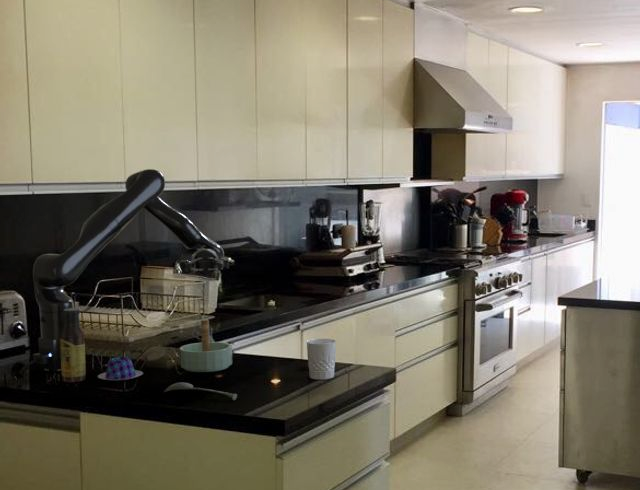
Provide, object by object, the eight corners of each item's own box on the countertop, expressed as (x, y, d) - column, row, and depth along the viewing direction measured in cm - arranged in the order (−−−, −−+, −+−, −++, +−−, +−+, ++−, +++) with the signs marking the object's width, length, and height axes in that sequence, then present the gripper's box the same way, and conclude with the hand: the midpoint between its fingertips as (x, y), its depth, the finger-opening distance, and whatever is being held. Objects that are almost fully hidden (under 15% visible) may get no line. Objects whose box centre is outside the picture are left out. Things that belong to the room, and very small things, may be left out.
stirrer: (207, 367, 265) (205, 322, 263) (193, 365, 268) (191, 320, 266) (219, 363, 270) (218, 319, 268) (206, 361, 272) (204, 318, 270)
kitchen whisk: (207, 356, 283) (206, 336, 282) (190, 338, 314) (190, 320, 313) (227, 355, 285) (226, 334, 284) (209, 337, 316) (208, 318, 316)
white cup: (340, 374, 257) (339, 339, 256) (330, 381, 250) (329, 344, 249) (314, 373, 260) (313, 338, 258) (303, 379, 252) (302, 343, 251)
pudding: (122, 370, 265) (121, 352, 264) (152, 375, 259) (151, 356, 258) (88, 379, 255) (87, 360, 254) (118, 384, 249) (117, 365, 248)
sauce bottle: (58, 380, 254) (54, 308, 251) (81, 377, 258) (77, 306, 255) (67, 384, 249) (62, 311, 246) (90, 381, 253) (86, 309, 250)
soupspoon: (176, 391, 244) (159, 397, 238) (175, 378, 243) (157, 385, 237) (243, 396, 233) (226, 404, 228) (242, 383, 233) (225, 390, 227)
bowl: (207, 375, 259) (206, 353, 258) (169, 369, 266) (168, 348, 265) (242, 365, 271) (242, 344, 270) (206, 360, 279) (205, 340, 278)
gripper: (182, 250, 290) (179, 255, 274) (228, 248, 292) (228, 253, 277) (183, 273, 291) (180, 280, 275) (229, 272, 293) (229, 278, 278)
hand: (204, 266), depth 276 cm, fingers open, 8 cm apart
